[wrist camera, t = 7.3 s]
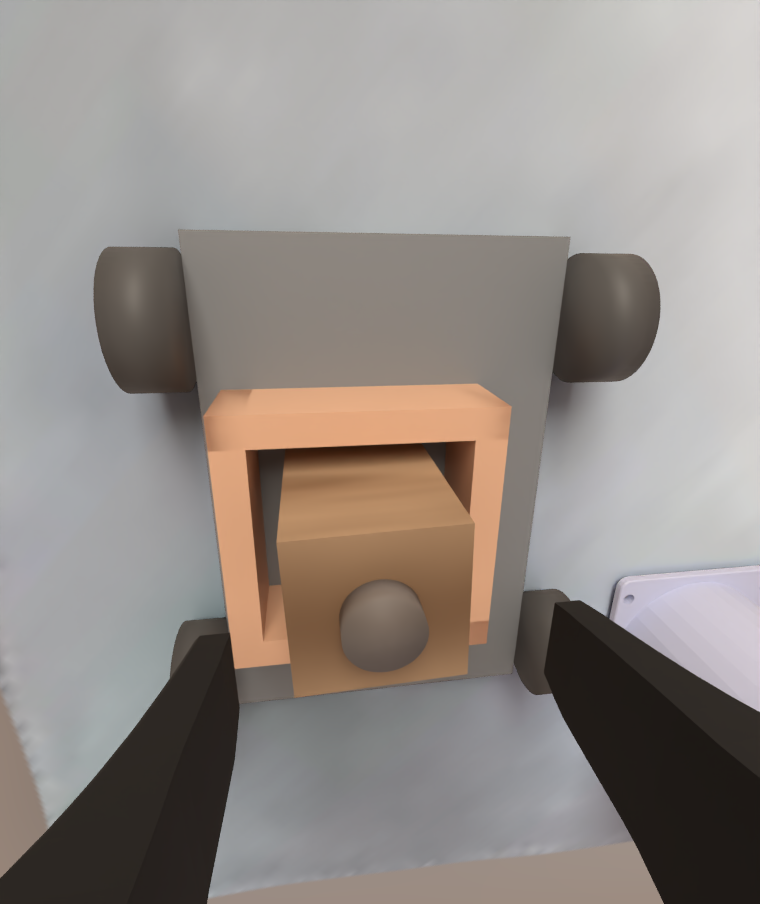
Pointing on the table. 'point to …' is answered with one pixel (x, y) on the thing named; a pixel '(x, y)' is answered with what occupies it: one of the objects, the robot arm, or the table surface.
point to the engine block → (372, 568)
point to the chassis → (372, 392)
